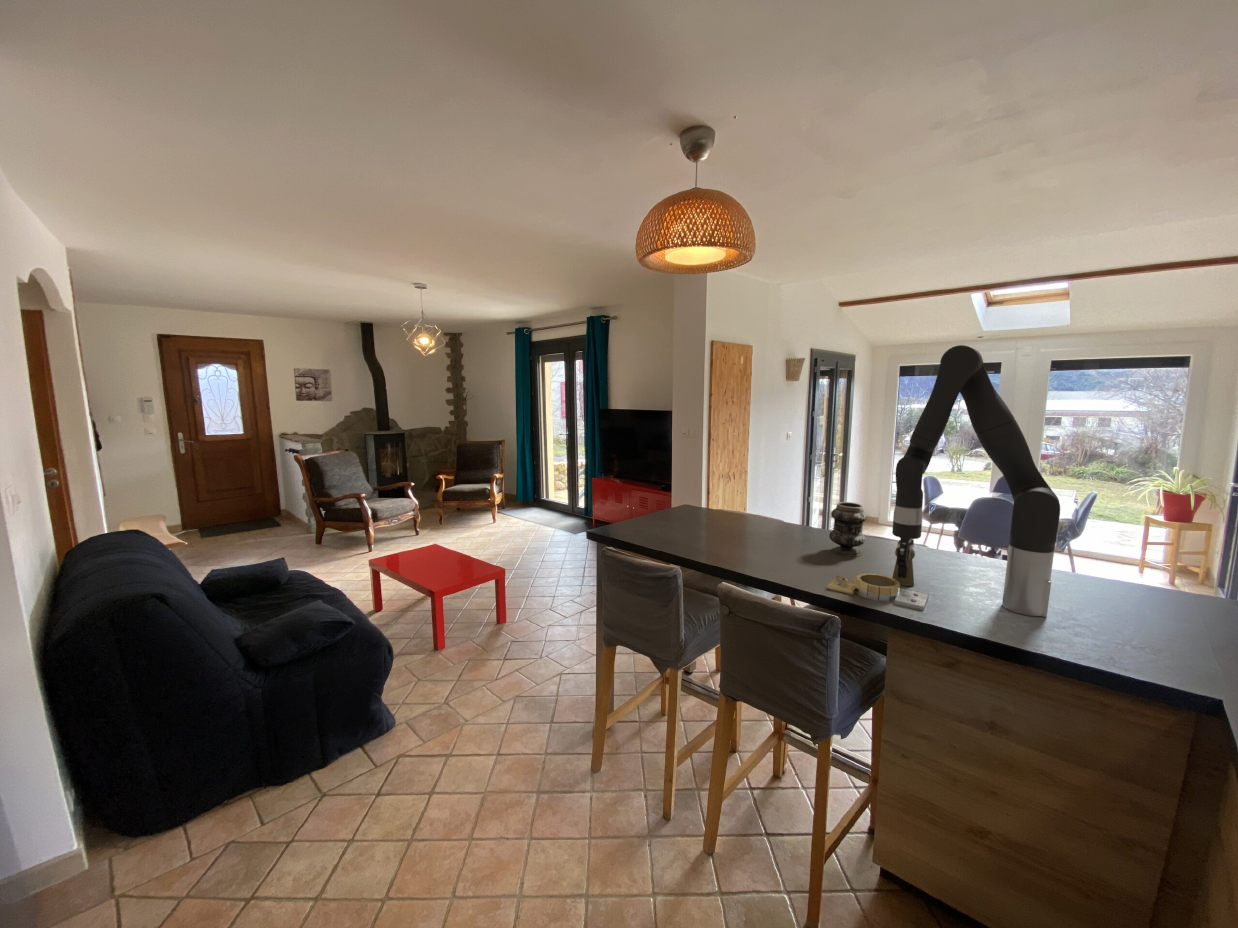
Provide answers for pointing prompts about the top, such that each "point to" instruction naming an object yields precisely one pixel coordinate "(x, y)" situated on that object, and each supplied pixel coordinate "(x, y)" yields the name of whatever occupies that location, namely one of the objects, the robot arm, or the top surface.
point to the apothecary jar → (848, 528)
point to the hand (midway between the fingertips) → (903, 575)
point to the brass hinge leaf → (865, 584)
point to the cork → (909, 577)
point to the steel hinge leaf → (897, 597)
